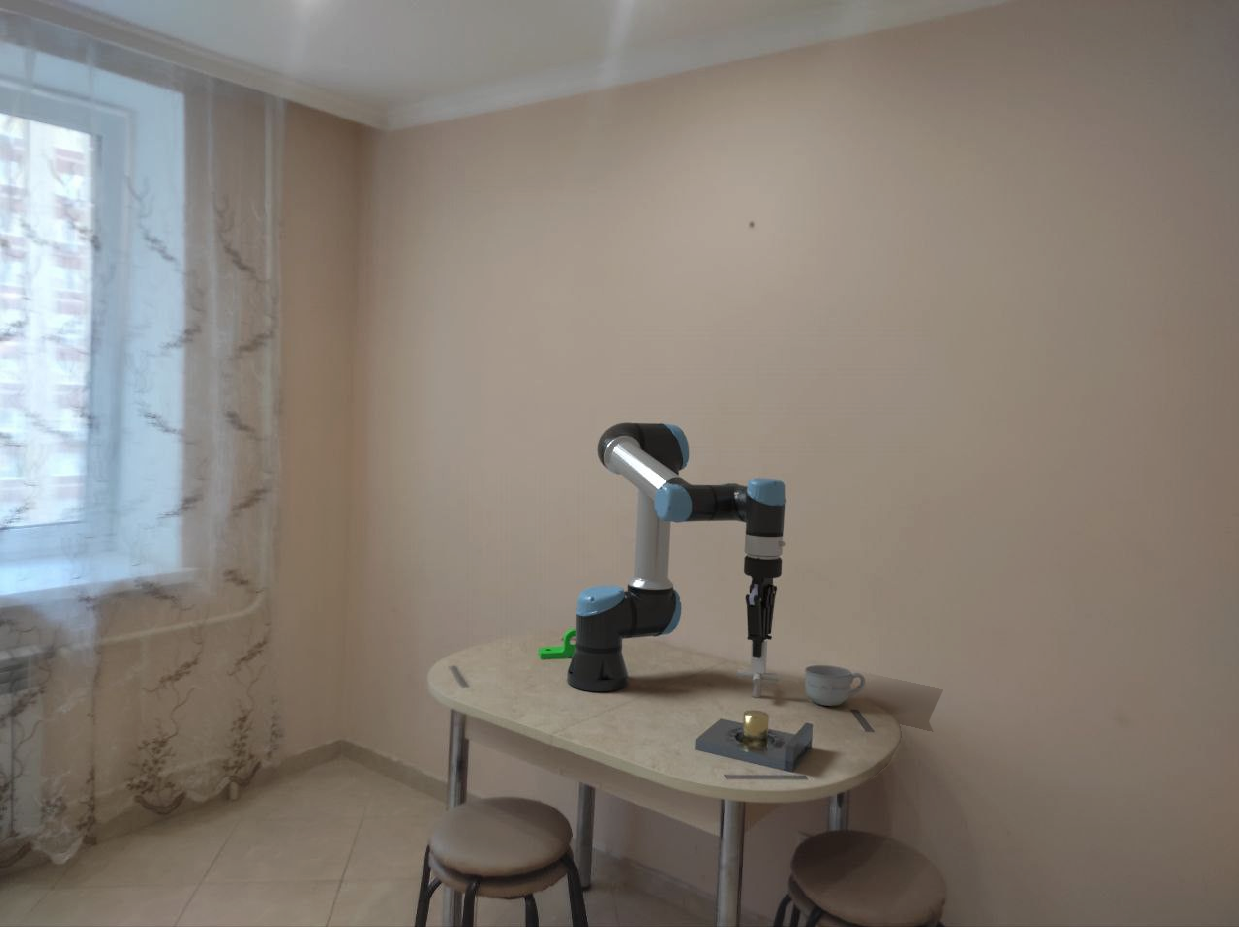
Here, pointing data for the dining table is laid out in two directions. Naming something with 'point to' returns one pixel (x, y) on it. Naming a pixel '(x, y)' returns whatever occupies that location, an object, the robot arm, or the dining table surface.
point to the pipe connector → (757, 679)
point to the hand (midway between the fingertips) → (758, 671)
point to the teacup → (830, 684)
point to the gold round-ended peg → (755, 728)
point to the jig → (779, 753)
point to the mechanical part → (560, 648)
